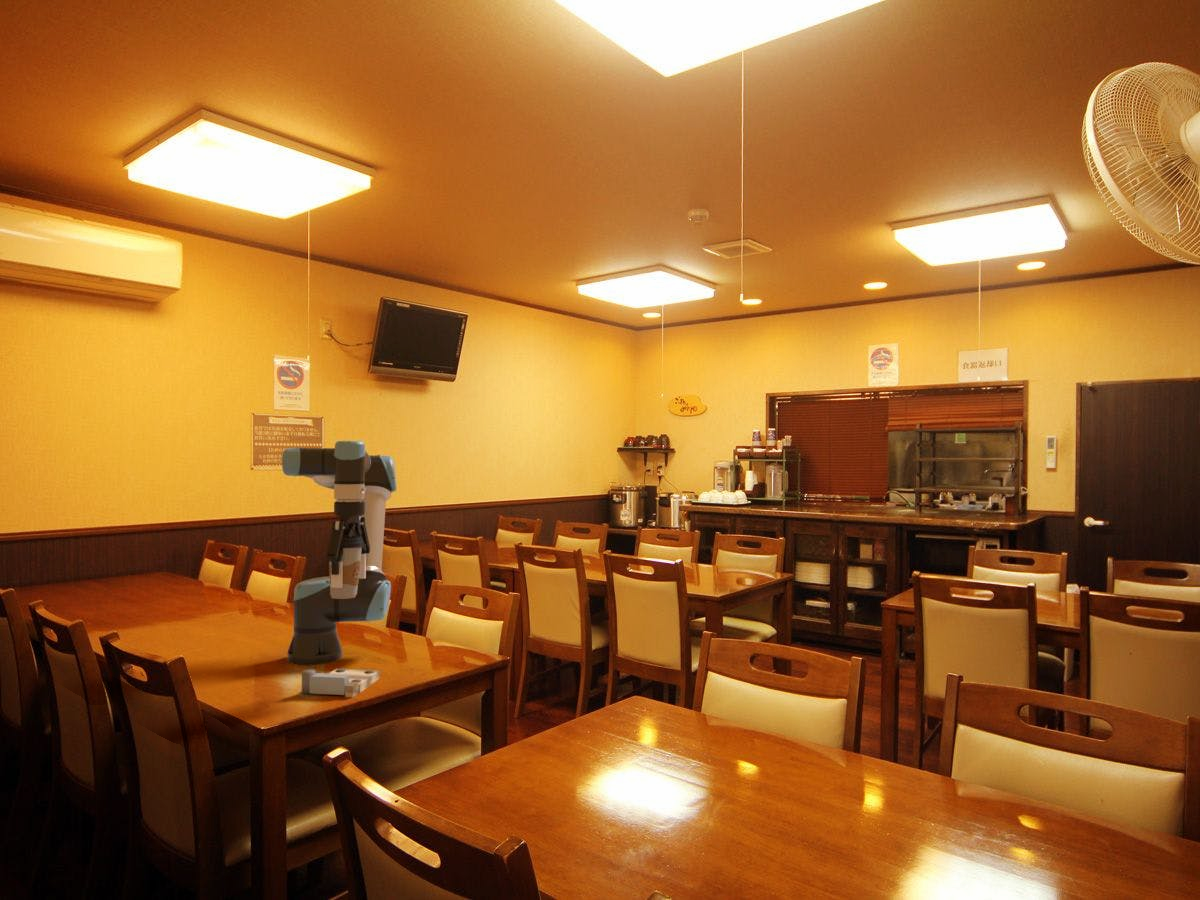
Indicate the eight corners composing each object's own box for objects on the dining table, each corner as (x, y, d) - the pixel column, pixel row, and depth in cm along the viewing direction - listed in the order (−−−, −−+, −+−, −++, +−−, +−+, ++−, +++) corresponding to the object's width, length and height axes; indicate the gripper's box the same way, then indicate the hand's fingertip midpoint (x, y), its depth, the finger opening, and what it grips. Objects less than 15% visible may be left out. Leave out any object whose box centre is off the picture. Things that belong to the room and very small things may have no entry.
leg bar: (299, 693, 186) (299, 673, 186) (305, 689, 189) (305, 669, 189) (343, 695, 184) (344, 675, 184) (349, 691, 188) (349, 671, 188)
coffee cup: (349, 600, 187) (352, 539, 188) (319, 598, 188) (321, 538, 189) (366, 595, 195) (368, 537, 196) (337, 594, 197) (339, 536, 197)
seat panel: (327, 677, 201) (327, 665, 201) (379, 679, 200) (379, 667, 200) (295, 697, 185) (295, 684, 185) (352, 700, 184) (352, 686, 184)
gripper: (341, 504, 182) (340, 592, 182) (382, 497, 206) (382, 575, 206) (311, 503, 182) (311, 591, 183) (356, 497, 207) (356, 574, 207)
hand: (348, 582), depth 194 cm, fingers open, 13 cm apart
